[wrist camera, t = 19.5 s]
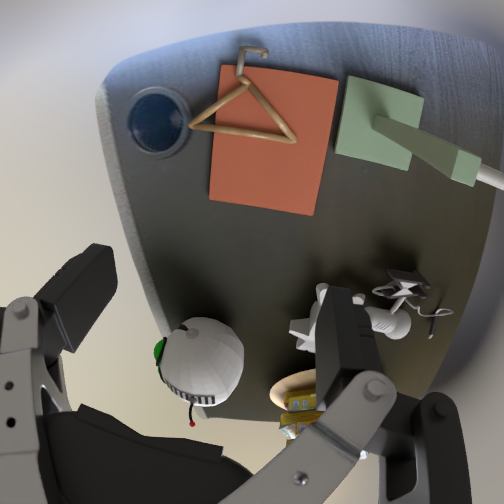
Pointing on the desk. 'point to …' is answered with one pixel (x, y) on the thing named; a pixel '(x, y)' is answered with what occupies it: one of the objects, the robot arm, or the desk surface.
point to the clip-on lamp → (396, 319)
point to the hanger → (247, 85)
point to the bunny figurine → (313, 320)
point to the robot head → (200, 361)
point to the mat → (272, 152)
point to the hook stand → (400, 134)
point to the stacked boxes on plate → (298, 403)
